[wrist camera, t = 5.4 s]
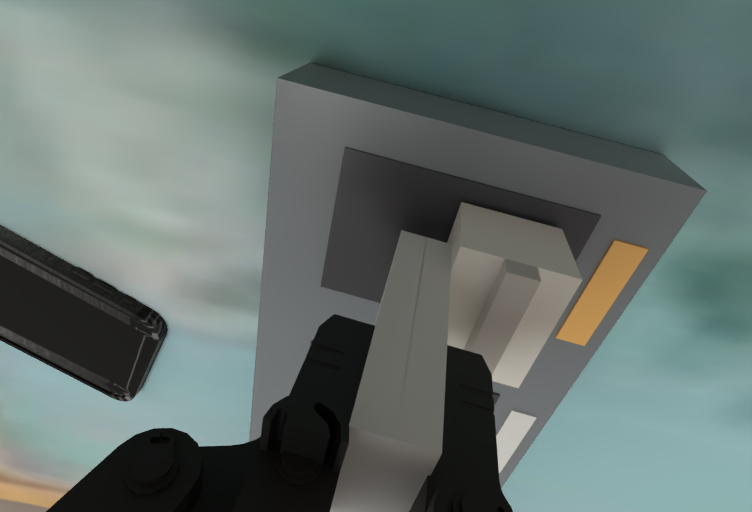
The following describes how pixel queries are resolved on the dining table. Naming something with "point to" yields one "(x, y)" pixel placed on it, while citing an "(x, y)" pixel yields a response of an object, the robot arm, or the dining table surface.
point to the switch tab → (507, 288)
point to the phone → (75, 320)
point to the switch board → (445, 222)
